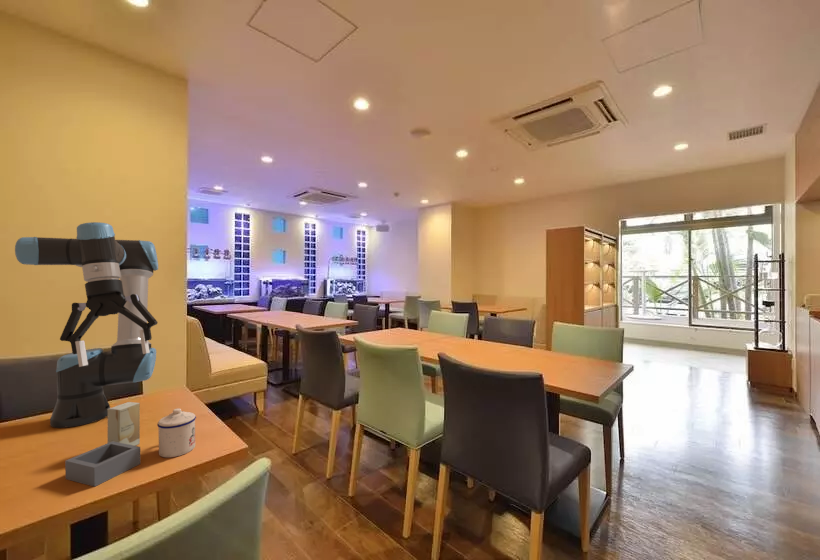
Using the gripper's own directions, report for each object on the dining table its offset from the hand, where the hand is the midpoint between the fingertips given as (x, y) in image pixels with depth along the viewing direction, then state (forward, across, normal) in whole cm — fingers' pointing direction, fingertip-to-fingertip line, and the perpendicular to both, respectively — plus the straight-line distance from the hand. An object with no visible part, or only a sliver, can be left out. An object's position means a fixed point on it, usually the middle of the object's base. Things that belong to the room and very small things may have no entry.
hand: (115, 359), depth 93 cm
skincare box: (+26, -5, +12) cm, 29 cm away
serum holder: (+27, -6, -1) cm, 28 cm away
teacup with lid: (+29, +9, +6) cm, 31 cm away
